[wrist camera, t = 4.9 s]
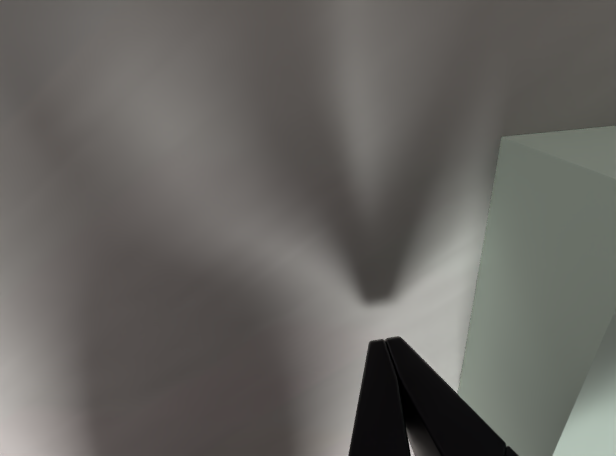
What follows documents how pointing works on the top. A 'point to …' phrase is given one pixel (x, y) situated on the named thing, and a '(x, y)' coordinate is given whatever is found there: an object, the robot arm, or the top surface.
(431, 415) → the robot arm
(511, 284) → the carton
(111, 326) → the top surface
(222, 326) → the top surface
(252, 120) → the top surface
